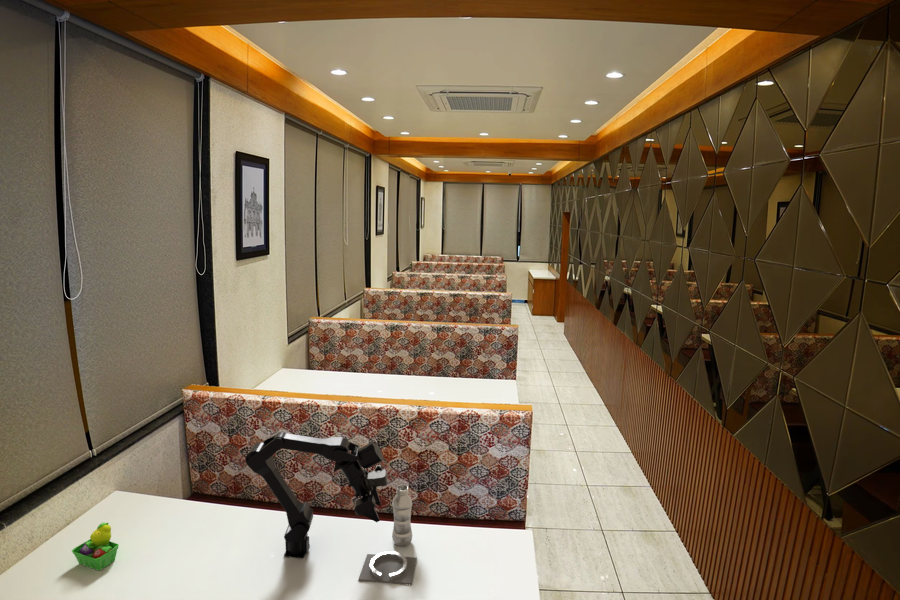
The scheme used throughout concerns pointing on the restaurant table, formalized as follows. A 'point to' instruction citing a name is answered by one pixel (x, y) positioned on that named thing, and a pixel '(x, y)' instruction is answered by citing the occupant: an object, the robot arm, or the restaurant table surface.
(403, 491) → the plastic bottle
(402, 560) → the split ring
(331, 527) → the restaurant table surface
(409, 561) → the ring mat
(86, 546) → the fruit basket
